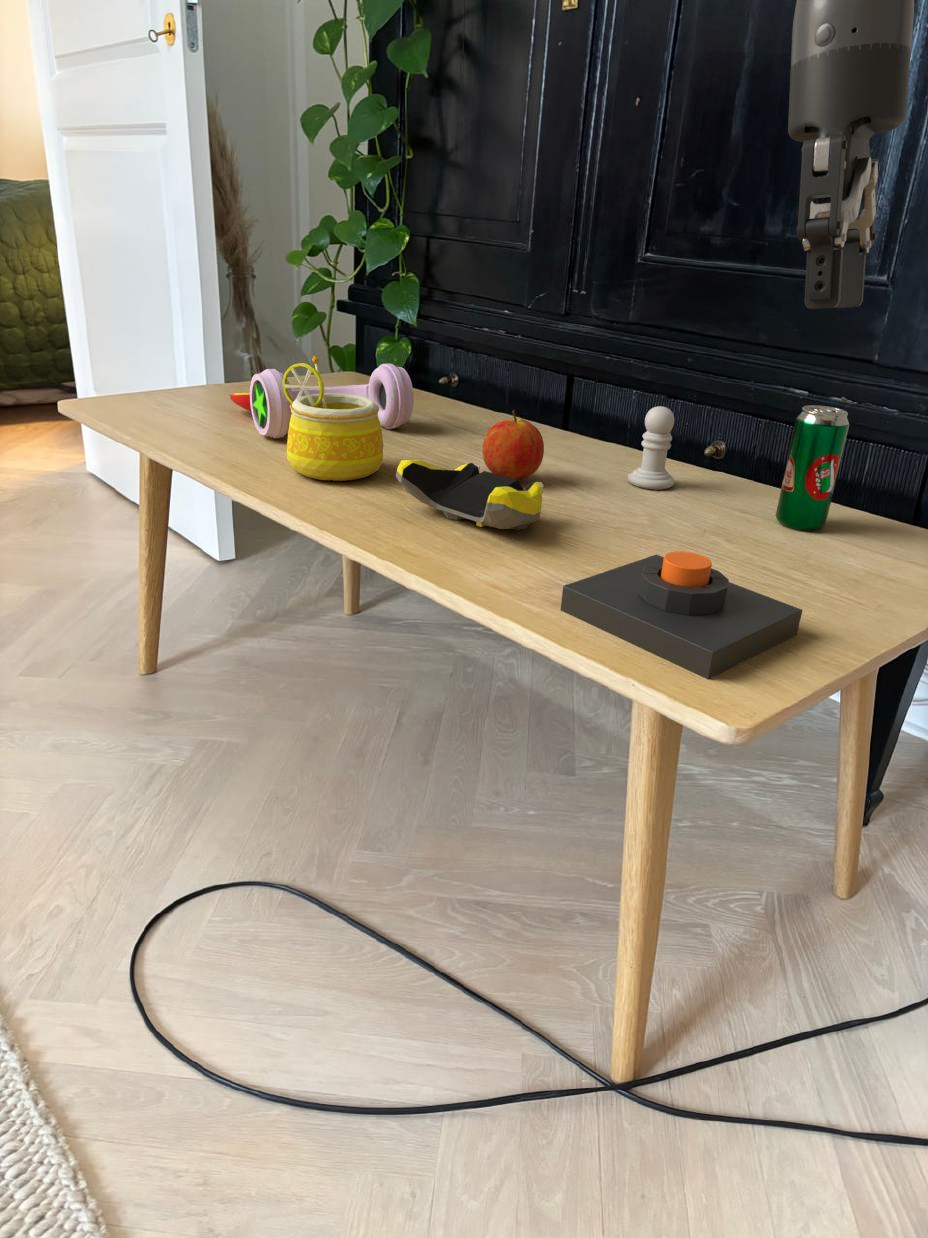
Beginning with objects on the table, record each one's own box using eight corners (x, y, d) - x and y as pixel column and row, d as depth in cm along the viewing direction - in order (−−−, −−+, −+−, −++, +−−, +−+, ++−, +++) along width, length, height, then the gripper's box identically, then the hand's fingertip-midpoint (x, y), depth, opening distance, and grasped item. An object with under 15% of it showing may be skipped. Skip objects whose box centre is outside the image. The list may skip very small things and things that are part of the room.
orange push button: (717, 583, 70) (721, 561, 69) (689, 594, 68) (693, 572, 67) (679, 568, 72) (682, 547, 72) (651, 578, 70) (654, 557, 69)
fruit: (529, 470, 108) (535, 403, 105) (549, 487, 102) (556, 417, 99) (473, 471, 107) (477, 403, 103) (491, 489, 101) (495, 417, 97)
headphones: (271, 382, 108) (220, 334, 122) (270, 459, 113) (222, 405, 127) (418, 374, 117) (355, 331, 132) (411, 446, 123) (351, 397, 137)
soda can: (776, 513, 98) (800, 401, 93) (825, 521, 97) (852, 408, 92) (772, 527, 94) (796, 411, 89) (823, 535, 92) (851, 418, 87)
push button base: (797, 635, 71) (808, 588, 69) (707, 680, 63) (717, 628, 62) (652, 577, 80) (659, 534, 78) (560, 610, 72) (565, 564, 71)
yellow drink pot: (400, 479, 102) (403, 371, 97) (308, 490, 97) (306, 376, 92) (353, 451, 112) (353, 351, 107) (267, 459, 107) (263, 354, 102)
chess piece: (672, 493, 103) (685, 413, 99) (625, 487, 104) (636, 408, 100) (674, 480, 108) (686, 404, 104) (629, 474, 109) (639, 399, 105)
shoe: (501, 552, 83) (564, 528, 90) (505, 494, 81) (569, 474, 88) (386, 511, 92) (451, 492, 99) (386, 458, 90) (453, 442, 97)
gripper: (893, 16, 54) (873, 305, 59) (924, 64, 65) (905, 303, 70) (764, 43, 58) (755, 313, 63) (815, 85, 69) (804, 310, 74)
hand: (834, 308), depth 66 cm, fingers open, 8 cm apart
